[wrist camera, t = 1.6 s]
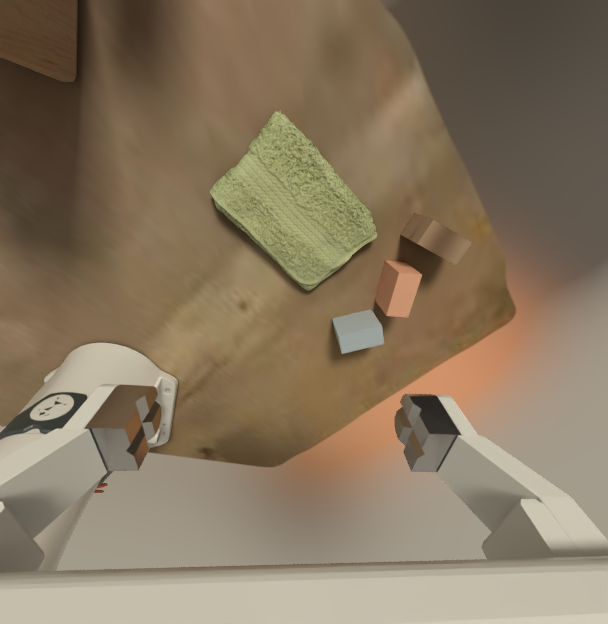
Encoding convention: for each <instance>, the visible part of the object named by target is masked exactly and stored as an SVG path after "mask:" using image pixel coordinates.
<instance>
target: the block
mask: <svg viewBox="0 0 608 624" xmlns="http://www.w3.org/2000/svg"><path fill="white" fill-rule="evenodd" d="M77 17H78V0H0V57H1V58H3V59H6V60H8V61H11V62H13V63H16V64H18V65H21V66H23V67H26V68H29V69H31V70H34V71H36V72H39V73H41V74H44V75H46V76H49V77H51V78H54V79H56V80H59V81H61V82H74V81H75V78H76V76H77Z"/></svg>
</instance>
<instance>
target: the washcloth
mask: <svg viewBox="0 0 608 624" xmlns="http://www.w3.org/2000/svg"><path fill="white" fill-rule="evenodd" d="M312 145H313V143H312V142H311V141H310V140H308V139H307V138H306V137H305V135H304V134H303V133H302V132H301V131H300V130H298V129H297V128H296V127H295V126H294V123H291V122H290V121H289V120H288V118H287V117H286V116H285V115H284V114H283V115H282V114H281V111H280V112H274V114H273V115H272V117H271V119H269V122H268V124H266V125H265V126H264V128H263V129H261V133H259V137H257V138H256V139H254V140H253V141H252V142H251V144H250V145H249V151H248V152H247V154H246V155H245V156H244V157H243V158H242V159H241V160H240V162H239V164H238V165H237V166H236V167H235V168H232V169H230V171H228V172H227V173H226V174H225V176H223V177H222V178H221V179H220V180H218V181H217V182H216V183H215V184H214V185H213V186H212V188H211V190H210V194H211V195H212V197H213V198H214V199H213V200H214V202H215V205H216V208H217V209H218V210H219V211H220V212H222V213H224V214H225V215H226V217H228V219H229V220H231V221H232V222H233V223H234V224H235V225H237V226H238V228H241V230H243V231H244V232H245V233H247V235H248V236H249V237H250V238H251V239H253V240H254V242H256V243H257V245H259V246H260V247H261V248H262V249H263V250H264V251H266V252H267V254H269V255H270V256H271V257H272V259H273V260H276V261H277V262H278V264H279V265H280V266H281V269H283V270H284V271H285V272H286V273H287V275H289V276H290V277H291V278H292V279H293V280H294V281H296V282H297V283H298V284H299V285H300V286H301V287H302V288H304V289H305V290H311V289H313V288H314V287H315V286H317V285H318V284H319V283H320V282H321V281H323V280H324V279H325V278H327V277H328V276H330V275H331V274H332V273H334V272H335V271H336V270H338V269H339V268H341V267H342V266H343V265H344V264H345V263H346V262H347V261H348V260H349V259H350V258H351V256H352V255H353V254H354V253H355V252H357V251H358V250H359V249H360V248H361V247H363V246H364V245H365V244H367V243H369V242H371V241H372V240H374V239H375V238H376V237H377V233H376V231H375V230H376V227H375V224H373V218H372V215H371V212H370V211H369V210H368V209H367V207H366V205H363V203H361V202H360V201H359V200H358V198H357V196H356V195H355V194H354V193H353V192H352V191H351V190H350V188H349V187H347V185H346V184H344V182H343V180H342V179H341V178H340V177H339V176H338V175H337V173H336V171H334V170H333V168H332V167H331V165H330V164H328V162H327V161H326V160H325V159H324V158H323V157H322V156H321V154H320V153H319V151H318V149H317V148H316V147H314V146H312Z"/></svg>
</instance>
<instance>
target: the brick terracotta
mask: <svg viewBox="0 0 608 624" xmlns="http://www.w3.org/2000/svg"><path fill="white" fill-rule="evenodd" d="M421 277H422V274H421V273H419V272H418V271H417V270H415V269H414V268H412V267H411V266H410V265H408V264H407V263H406V262H396V261H386V260H385V263H384V267H383V271H382V274H381V278H380V282H379V286H378V290H377V293H376V297H375V301H376V302H377V304H378V305H379V306H380V308H381V309H382V310H383V312H384V313H385V315H386V316H395V317H408V316H409V313H410V310H411V307H412V304H413V301H414V298H415V295H416V292H417V289H418V286H419V283H420V280H421Z"/></svg>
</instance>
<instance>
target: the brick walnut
mask: <svg viewBox="0 0 608 624" xmlns="http://www.w3.org/2000/svg"><path fill="white" fill-rule="evenodd" d="M401 235H402V236H404V237H406V238H407V239H409V240H411V241H413V242H414V243H416V244H418V245H420V246H422V247H423V248H425V249H427V250H429V251H431V252H432V253H434V254H436V255H438V256H440V257H441V258H443V259H445V260H447V261H449V262H450V263H452V264H454V265H456V264H457V262H458V261H459V260H460V259H461V257H462V256H463V255H464V253H465V252H466V251H467V249H468V248H469V247H470V245H471V244H472V243H471V242H470V241H468V240H466V239H465V238H463V237H462V236H460V235H458V234H457V233H455V232H453V231H452V230H450V229H448V228H447V227H445V226H443V225H442V224H440V223H438V222H437V221H435V220H433V219H430V218H427V217H424V216H421V215H418V214H415V213H414V215H413V216H412V218H411V219H410V221H409V222H408V224H407V225H406V227H405V229H404V230H403V232H402V233H401Z"/></svg>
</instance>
